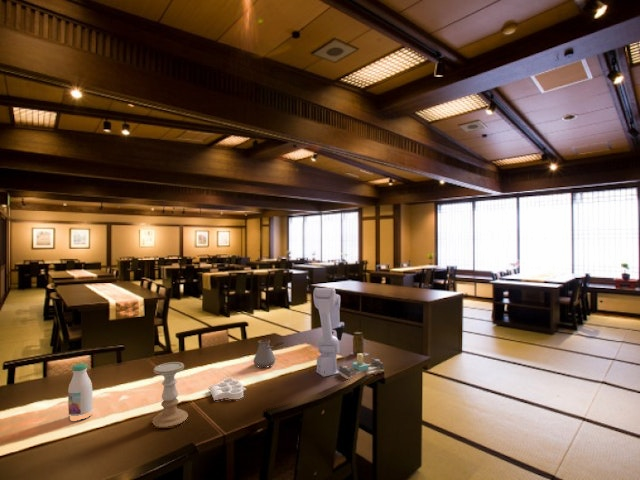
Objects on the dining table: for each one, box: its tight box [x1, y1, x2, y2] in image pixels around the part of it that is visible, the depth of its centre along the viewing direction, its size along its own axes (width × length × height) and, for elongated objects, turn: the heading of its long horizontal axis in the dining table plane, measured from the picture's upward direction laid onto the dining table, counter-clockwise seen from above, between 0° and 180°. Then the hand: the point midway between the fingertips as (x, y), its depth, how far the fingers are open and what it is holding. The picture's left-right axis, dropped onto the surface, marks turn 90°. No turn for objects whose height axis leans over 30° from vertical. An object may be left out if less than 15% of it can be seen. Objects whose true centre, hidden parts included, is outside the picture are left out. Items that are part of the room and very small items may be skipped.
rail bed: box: [338, 357, 385, 380], centre depth 177 cm, size 21×9×5 cm, turn 117°
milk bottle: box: [67, 362, 94, 416], centre depth 138 cm, size 8×8×20 cm
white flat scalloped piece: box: [207, 378, 247, 401], centre depth 158 cm, size 3×18×15 cm
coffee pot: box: [253, 339, 287, 368], centre depth 188 cm, size 21×12×15 cm, turn 49°
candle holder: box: [151, 361, 189, 427], centre depth 134 cm, size 12×12×20 cm
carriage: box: [351, 353, 369, 371], centre depth 177 cm, size 5×7×7 cm
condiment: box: [349, 331, 370, 357], centre depth 206 cm, size 7×8×12 cm
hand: (334, 341), depth 195 cm, fingers open, 7 cm apart
